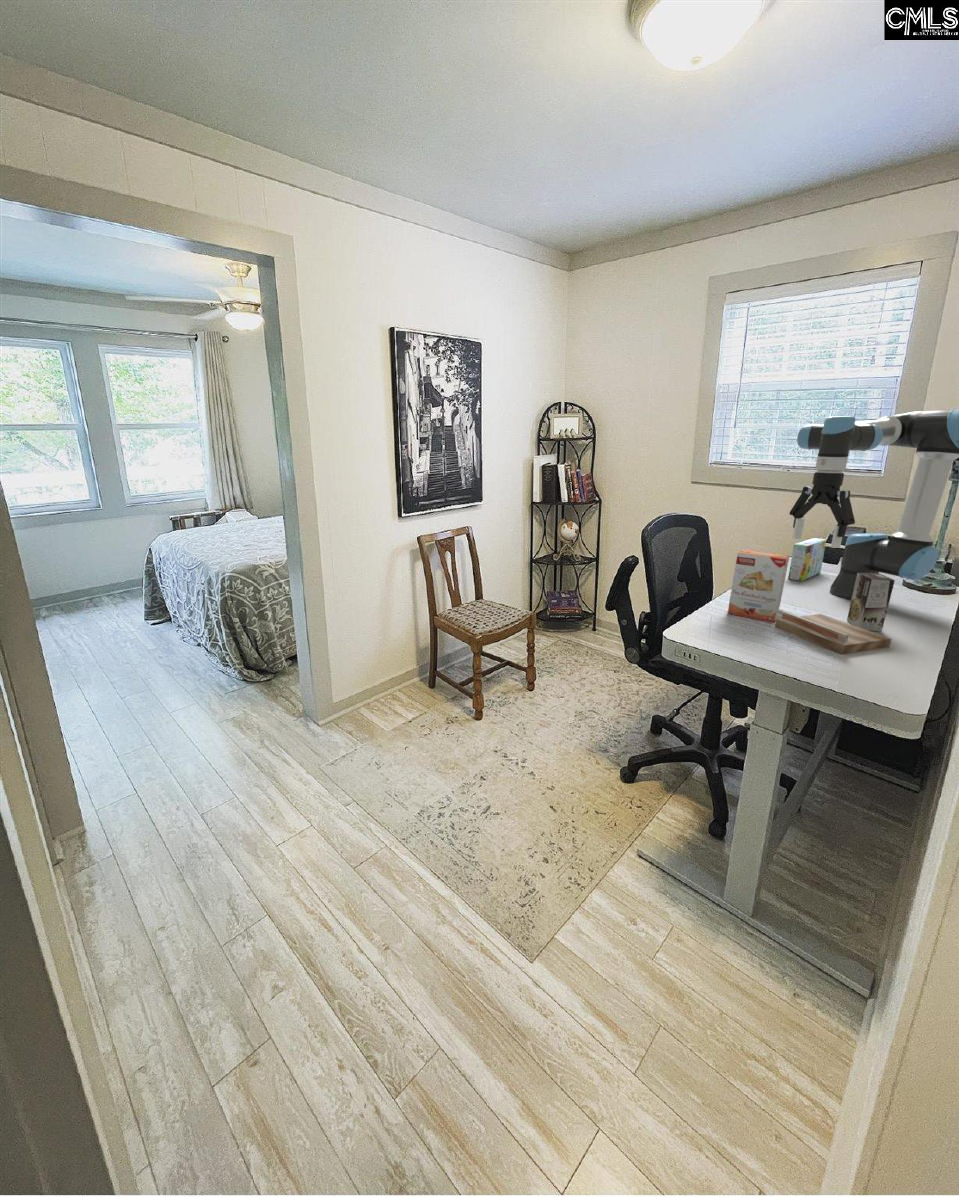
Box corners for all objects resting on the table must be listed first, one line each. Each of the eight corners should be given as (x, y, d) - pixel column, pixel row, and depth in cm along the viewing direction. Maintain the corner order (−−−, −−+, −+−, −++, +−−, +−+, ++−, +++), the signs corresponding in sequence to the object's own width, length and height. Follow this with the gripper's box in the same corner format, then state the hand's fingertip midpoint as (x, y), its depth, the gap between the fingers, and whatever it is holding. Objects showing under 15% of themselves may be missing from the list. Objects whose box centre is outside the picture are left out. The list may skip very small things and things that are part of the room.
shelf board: (819, 621, 167) (822, 604, 165) (889, 647, 147) (894, 628, 145) (774, 626, 162) (777, 610, 160) (840, 654, 142) (845, 635, 140)
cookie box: (883, 631, 159) (896, 580, 154) (859, 630, 160) (871, 578, 155) (868, 621, 167) (880, 572, 162) (845, 620, 168) (856, 571, 164)
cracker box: (726, 614, 173) (736, 551, 167) (731, 609, 177) (741, 548, 171) (774, 623, 165) (786, 558, 158) (777, 618, 169) (790, 555, 163)
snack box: (806, 571, 230) (813, 537, 226) (820, 574, 226) (828, 539, 221) (786, 579, 217) (793, 543, 213) (801, 582, 213) (808, 545, 209)
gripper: (784, 469, 164) (772, 536, 171) (859, 475, 142) (843, 552, 148) (803, 468, 167) (791, 535, 173) (880, 474, 144) (863, 550, 150)
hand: (815, 543), depth 160 cm, fingers open, 13 cm apart
